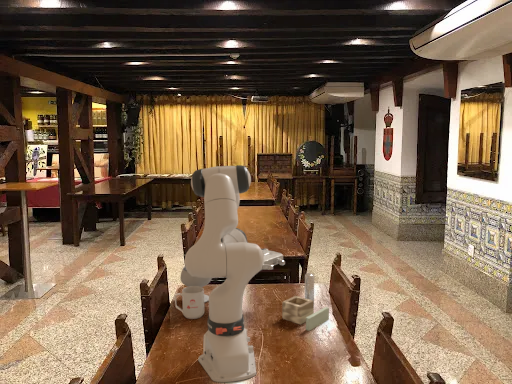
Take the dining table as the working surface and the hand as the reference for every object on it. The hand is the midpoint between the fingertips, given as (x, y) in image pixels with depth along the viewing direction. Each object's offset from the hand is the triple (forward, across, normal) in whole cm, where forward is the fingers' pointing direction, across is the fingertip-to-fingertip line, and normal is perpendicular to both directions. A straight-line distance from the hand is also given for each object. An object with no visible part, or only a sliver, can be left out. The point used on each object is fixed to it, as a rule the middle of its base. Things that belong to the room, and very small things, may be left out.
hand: (278, 265), depth 182 cm
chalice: (-37, -13, +21) cm, 44 cm away
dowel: (+6, +14, +20) cm, 25 cm away
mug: (-26, -26, +20) cm, 42 cm away
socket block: (+10, 0, +20) cm, 22 cm away
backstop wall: (+20, 0, +20) cm, 28 cm away
